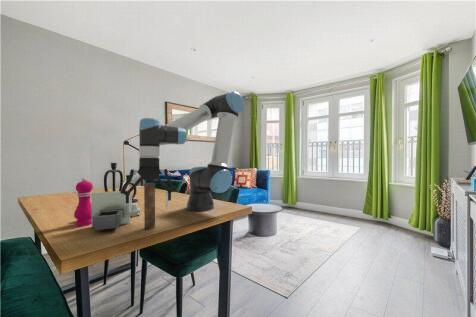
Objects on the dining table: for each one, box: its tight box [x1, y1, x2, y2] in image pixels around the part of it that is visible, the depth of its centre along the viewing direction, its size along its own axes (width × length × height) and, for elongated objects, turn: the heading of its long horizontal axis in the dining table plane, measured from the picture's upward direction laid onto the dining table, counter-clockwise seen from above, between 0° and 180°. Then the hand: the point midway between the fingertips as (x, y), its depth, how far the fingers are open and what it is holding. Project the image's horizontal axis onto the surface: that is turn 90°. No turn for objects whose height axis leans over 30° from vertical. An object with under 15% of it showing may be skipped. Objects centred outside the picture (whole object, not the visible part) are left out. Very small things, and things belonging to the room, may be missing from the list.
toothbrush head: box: [130, 202, 141, 218], centre depth 100 cm, size 5×7×25 cm
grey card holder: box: [90, 190, 131, 231], centre depth 85 cm, size 14×12×14 cm
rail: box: [143, 182, 156, 231], centre depth 86 cm, size 4×4×18 cm
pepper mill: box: [73, 176, 94, 227], centre depth 91 cm, size 7×7×20 cm
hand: (149, 210), depth 85 cm, fingers open, 13 cm apart
